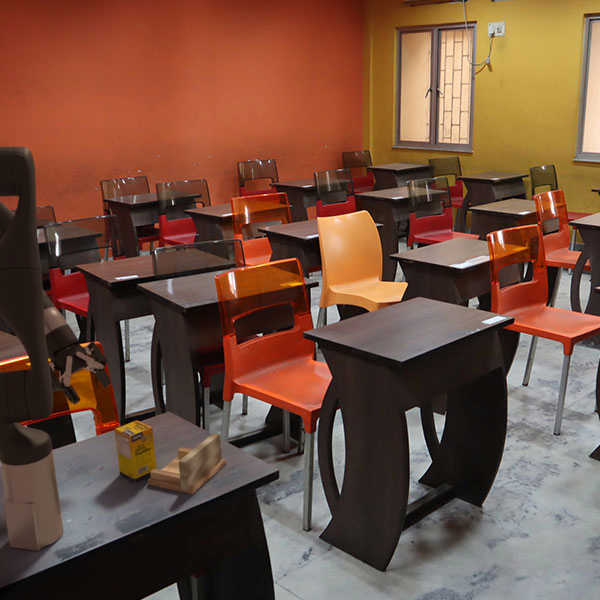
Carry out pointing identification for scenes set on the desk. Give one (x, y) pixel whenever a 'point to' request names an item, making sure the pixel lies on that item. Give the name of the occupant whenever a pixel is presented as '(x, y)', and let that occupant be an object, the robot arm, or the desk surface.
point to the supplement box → (135, 450)
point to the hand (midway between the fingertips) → (93, 394)
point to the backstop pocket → (190, 467)
